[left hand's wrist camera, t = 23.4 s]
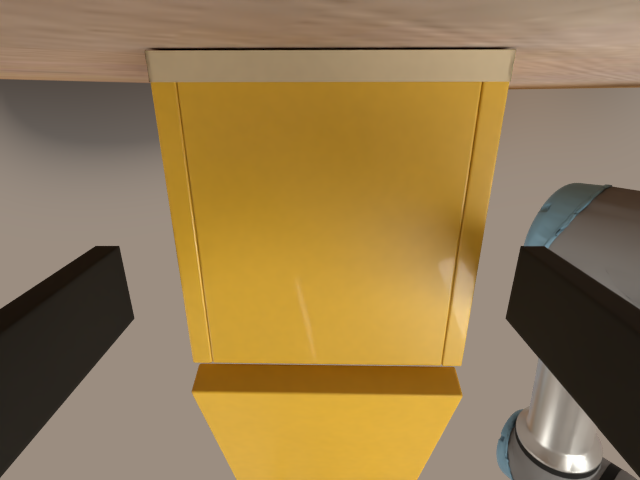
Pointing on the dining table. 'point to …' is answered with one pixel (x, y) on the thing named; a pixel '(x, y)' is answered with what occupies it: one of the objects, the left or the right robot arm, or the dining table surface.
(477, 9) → the dining table surface
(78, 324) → the left robot arm
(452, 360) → the chest
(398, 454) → the lid
